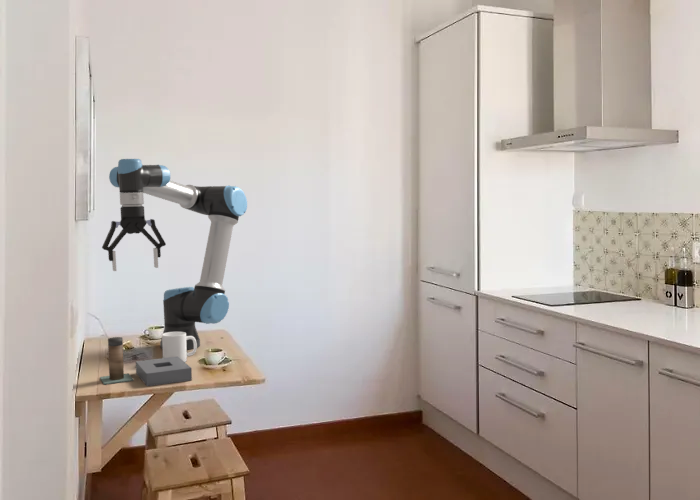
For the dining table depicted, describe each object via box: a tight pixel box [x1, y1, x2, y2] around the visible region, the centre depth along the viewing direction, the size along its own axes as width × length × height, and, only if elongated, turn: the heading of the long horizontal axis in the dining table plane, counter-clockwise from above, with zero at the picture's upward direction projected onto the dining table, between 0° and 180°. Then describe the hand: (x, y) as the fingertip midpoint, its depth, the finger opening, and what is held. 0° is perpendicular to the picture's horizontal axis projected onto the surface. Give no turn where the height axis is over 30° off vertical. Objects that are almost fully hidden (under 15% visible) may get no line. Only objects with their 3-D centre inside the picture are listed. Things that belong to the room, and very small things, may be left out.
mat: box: [99, 372, 135, 386], centre depth 220 cm, size 9×9×1 cm
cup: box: [161, 332, 198, 363], centre depth 244 cm, size 8×12×10 cm
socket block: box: [135, 356, 193, 387], centre depth 223 cm, size 18×14×4 cm
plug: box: [107, 336, 125, 380], centre depth 220 cm, size 4×4×13 cm
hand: (135, 269), depth 229 cm, fingers open, 13 cm apart
